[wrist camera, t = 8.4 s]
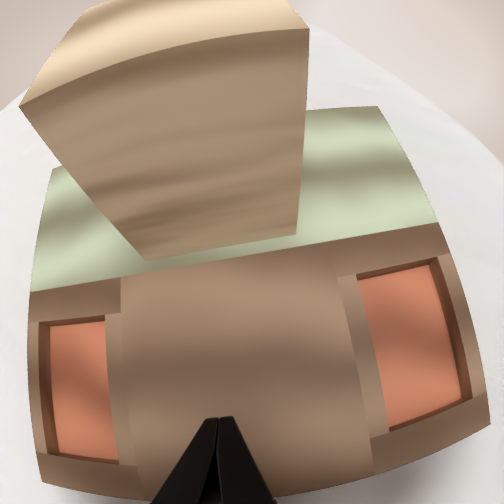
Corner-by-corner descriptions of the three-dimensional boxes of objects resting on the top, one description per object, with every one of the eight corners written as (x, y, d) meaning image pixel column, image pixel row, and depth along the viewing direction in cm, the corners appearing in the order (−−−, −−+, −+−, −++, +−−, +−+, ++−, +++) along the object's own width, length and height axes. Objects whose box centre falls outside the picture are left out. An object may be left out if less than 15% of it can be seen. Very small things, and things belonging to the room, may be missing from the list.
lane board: (476, 423, 12) (490, 424, 11) (56, 478, 12) (42, 481, 11) (373, 120, 21) (377, 106, 20) (61, 179, 21) (52, 168, 20)
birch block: (296, 234, 16) (309, 28, 6) (145, 260, 16) (18, 106, 6) (268, 128, 19) (256, -33, 9) (149, 151, 19) (85, 9, 9)
